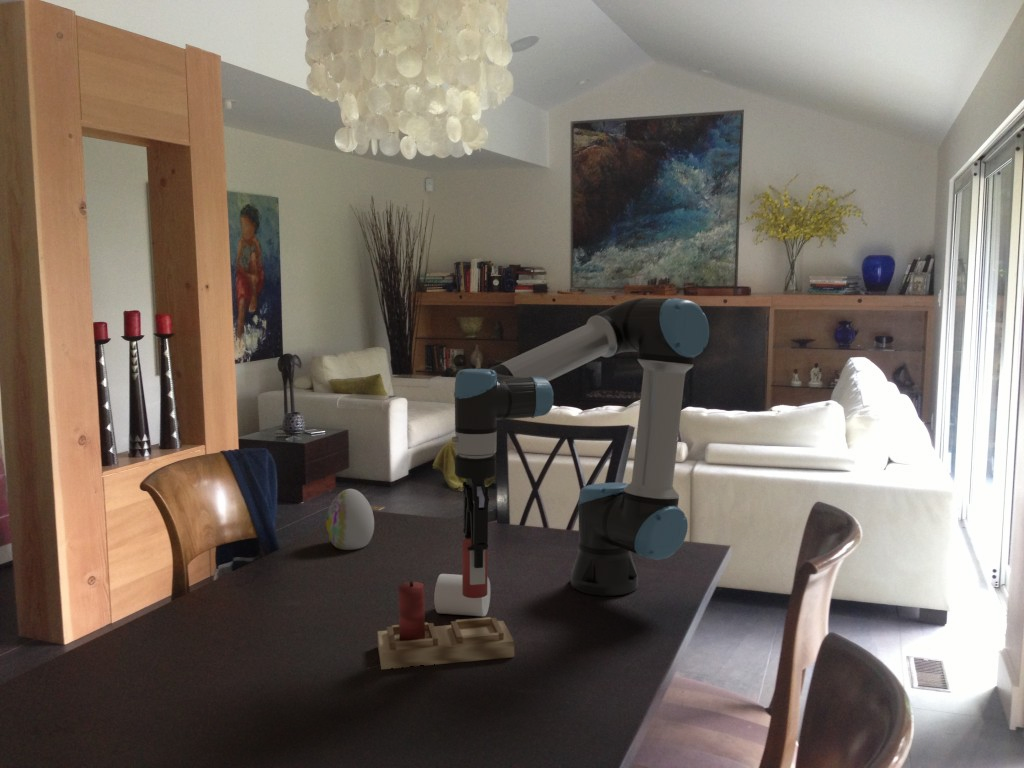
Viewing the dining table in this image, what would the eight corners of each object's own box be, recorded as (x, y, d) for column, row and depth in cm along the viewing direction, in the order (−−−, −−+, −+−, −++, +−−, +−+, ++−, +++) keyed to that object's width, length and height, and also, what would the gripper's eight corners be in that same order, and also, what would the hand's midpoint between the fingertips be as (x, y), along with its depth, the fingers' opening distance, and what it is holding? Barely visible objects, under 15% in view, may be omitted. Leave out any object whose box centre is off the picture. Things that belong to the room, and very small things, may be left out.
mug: (481, 622, 175) (481, 584, 174) (434, 619, 177) (433, 581, 176) (495, 601, 186) (494, 565, 185) (450, 598, 188) (449, 562, 187)
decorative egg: (326, 540, 231) (324, 485, 229) (372, 537, 234) (371, 482, 232) (327, 554, 219) (326, 496, 217) (376, 550, 222) (375, 493, 220)
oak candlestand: (503, 635, 168) (502, 566, 166) (514, 657, 158) (514, 583, 157) (377, 646, 163) (376, 575, 161) (381, 669, 153) (379, 593, 152)
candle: (484, 588, 163) (484, 532, 162) (489, 597, 159) (489, 539, 157) (460, 590, 162) (460, 534, 161) (464, 598, 158) (464, 540, 156)
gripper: (448, 446, 165) (448, 565, 168) (462, 464, 148) (462, 596, 151) (487, 445, 167) (486, 563, 169) (505, 462, 150) (504, 593, 152)
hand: (475, 579), depth 160 cm, fingers closed on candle, 4 cm apart
